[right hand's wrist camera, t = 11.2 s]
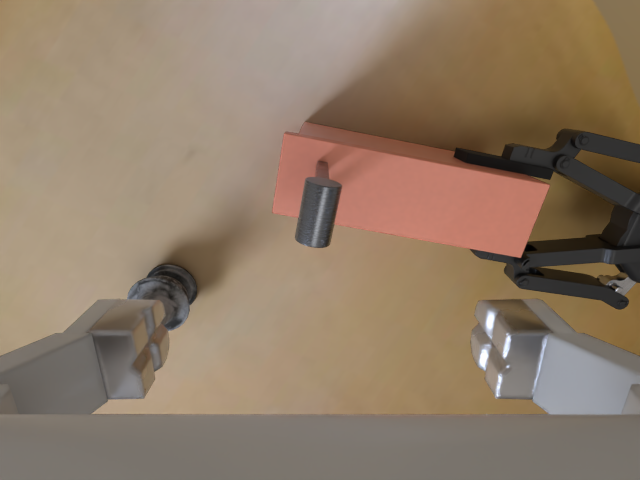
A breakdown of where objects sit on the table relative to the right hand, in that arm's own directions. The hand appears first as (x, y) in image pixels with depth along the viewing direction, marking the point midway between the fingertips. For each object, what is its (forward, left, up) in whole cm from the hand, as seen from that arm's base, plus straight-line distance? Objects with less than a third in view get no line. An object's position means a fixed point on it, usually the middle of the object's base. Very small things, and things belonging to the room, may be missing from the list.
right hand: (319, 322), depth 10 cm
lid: (+6, -2, -18) cm, 19 cm away
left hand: (+10, -3, -21) cm, 23 cm away
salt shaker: (-17, -11, -28) cm, 35 cm away
